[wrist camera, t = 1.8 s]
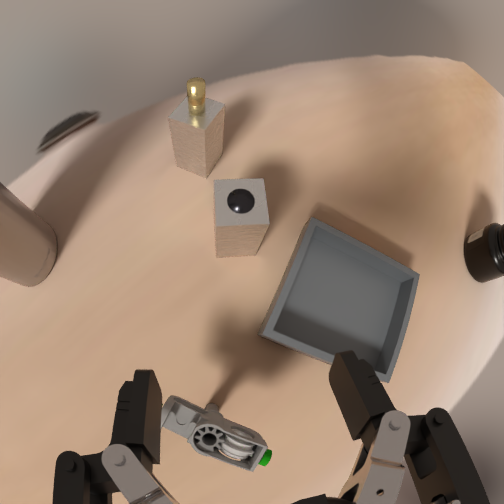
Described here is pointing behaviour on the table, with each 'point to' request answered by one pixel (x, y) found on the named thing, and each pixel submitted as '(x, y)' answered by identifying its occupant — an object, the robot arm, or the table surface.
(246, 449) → the mechanical component
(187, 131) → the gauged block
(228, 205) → the block
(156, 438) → the robot arm
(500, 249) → the ink bottle
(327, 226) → the tray
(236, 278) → the table surface
